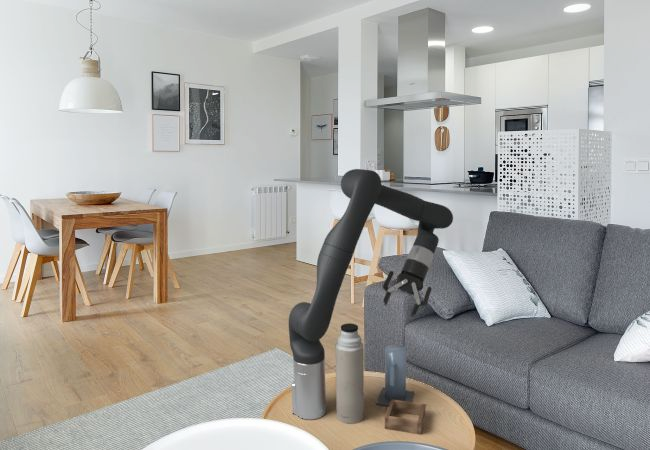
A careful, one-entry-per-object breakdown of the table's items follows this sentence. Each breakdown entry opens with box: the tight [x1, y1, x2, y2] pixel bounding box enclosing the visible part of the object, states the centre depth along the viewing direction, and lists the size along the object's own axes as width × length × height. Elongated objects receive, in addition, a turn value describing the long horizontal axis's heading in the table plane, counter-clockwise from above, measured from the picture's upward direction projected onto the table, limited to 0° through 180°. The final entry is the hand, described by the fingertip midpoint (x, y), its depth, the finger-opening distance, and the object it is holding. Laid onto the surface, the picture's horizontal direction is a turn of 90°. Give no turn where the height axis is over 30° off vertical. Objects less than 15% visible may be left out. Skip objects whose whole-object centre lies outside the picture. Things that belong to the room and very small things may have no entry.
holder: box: [384, 399, 427, 435], centre depth 148 cm, size 10×10×4 cm
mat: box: [375, 386, 415, 408], centre depth 161 cm, size 10×10×1 cm
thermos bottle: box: [335, 322, 365, 424], centre depth 149 cm, size 8×8×28 cm
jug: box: [384, 343, 407, 401], centre depth 158 cm, size 6×9×16 cm
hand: (398, 310), depth 158 cm, fingers open, 8 cm apart
